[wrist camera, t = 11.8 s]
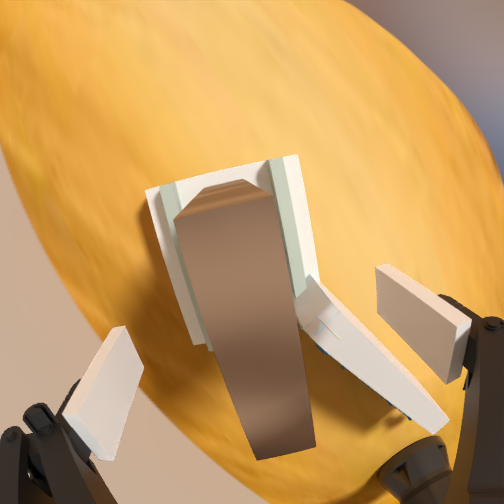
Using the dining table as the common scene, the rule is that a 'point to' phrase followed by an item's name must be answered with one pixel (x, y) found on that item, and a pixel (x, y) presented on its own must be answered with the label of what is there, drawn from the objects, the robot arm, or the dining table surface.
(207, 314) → the brown picture frame
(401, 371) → the decorative sign
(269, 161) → the panel
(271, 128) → the dining table surface
